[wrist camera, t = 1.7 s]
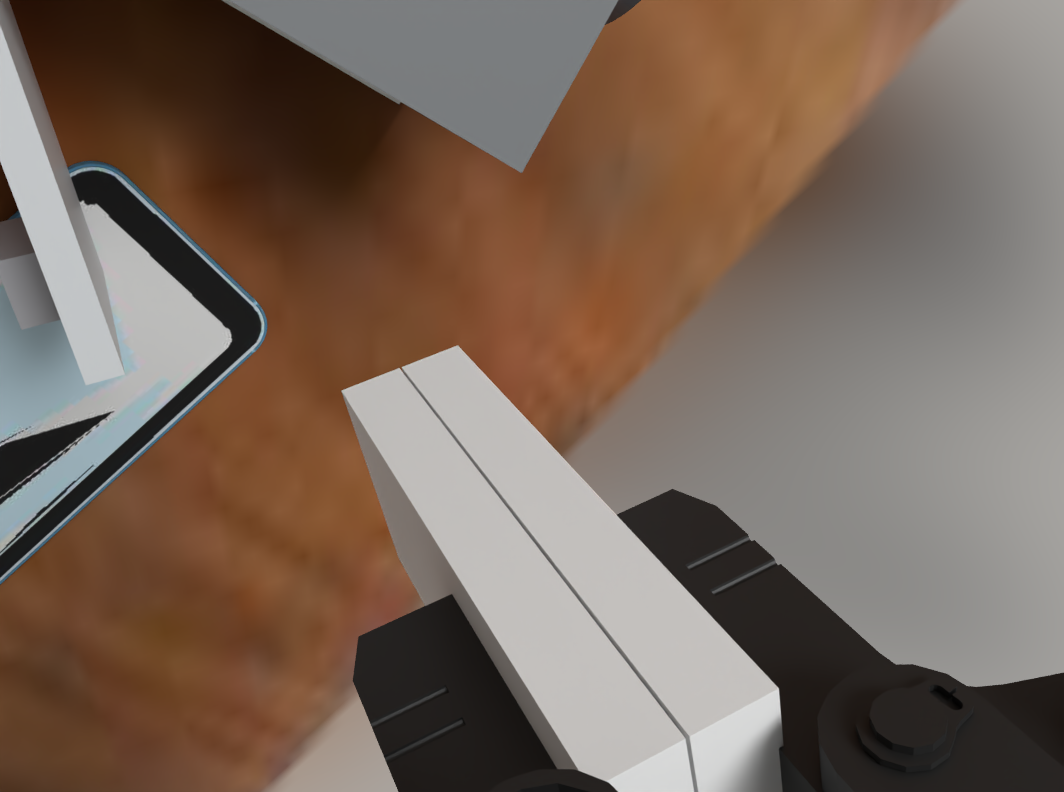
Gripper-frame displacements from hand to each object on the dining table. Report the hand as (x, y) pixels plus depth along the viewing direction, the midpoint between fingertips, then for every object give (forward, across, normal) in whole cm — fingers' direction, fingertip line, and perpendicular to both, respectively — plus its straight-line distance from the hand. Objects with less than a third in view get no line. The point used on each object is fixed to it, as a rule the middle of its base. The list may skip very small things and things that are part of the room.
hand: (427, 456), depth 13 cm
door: (+17, -4, +3) cm, 18 cm away
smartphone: (+19, -8, -5) cm, 21 cm away
